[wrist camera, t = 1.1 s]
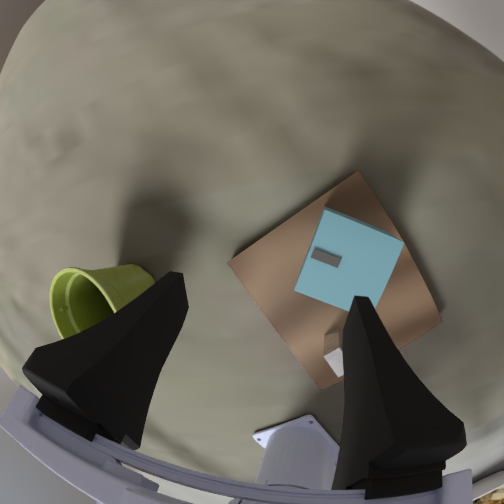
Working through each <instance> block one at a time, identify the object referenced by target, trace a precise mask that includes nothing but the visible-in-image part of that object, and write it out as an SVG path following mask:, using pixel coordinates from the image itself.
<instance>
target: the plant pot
mask: <svg viewBox="0 0 504 504" xmlns="http://www.w3.org/2000/svg"><path fill="white" fill-rule="evenodd" d="M154 283H156V282H155V280H154V279H153V277H152V276H151V275H150V274H149V273H147V272H146V271H144V270H143V269H142V268H141V267H140V266H138V265H134V264H128V265H122V266H116V267H111V268H104V269H98V270H85V269H84V270H83V269H80V268H76V267H69V268H65V269H63V270H61V271H59V272H58V273H57V274H56V276H55V277H54V279H53V281H52V284H51V288H50V308H51V313H52V317H53V320H54V323H55V325H56V327H57V330H58V332H59V334H60V336H61V337H62V339H65V338H68V337H70V336H72V335H75V334H77V333H79V332H81V331H83V330H85V329H87V328H89V327H91V326H93V325H95V324H97V323H99V322H101V321H102V320H104V319H106V318H107V317H109V316H111V315H112V314H114V313H115V312H117V311H118V310H120V309H121V308H122V307H124V306H125V305H127V304H128V303H129V302H131V301H132V300H134V299H135V298H136V297H138V296H139V295H140V294H142V293H143V292H144V291H145V290H147V289H148V288H149V287H151V286H152V285H153V284H154Z"/></svg>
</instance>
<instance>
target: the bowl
mask: <svg viewBox="0 0 504 504" xmlns="http://www.w3.org/2000/svg"><path fill="white" fill-rule="evenodd" d="M472 487H473V504H504V470H503V471H500V472H497V473H495V474H492V475H490V476H488V477H485V478H483V479H481V480H479V481H477V482H475V483H473V484H472Z"/></svg>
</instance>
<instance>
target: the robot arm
mask: <svg viewBox="0 0 504 504" xmlns="http://www.w3.org/2000/svg"><path fill="white" fill-rule="evenodd" d="M188 308H189V305H188V300H187V294H186V289H185V283H184V277H183V273H178V272H172V271H170V272H168V273H167V274H166V275H164V276H163V277H162V278H161V279H159V280H158V281H157V282H156V283H154V284H153V285H152V286H151V287H149V288H148V289H147V290H145V291H144V292H143V293H142V294H140V295H139V296H138V297H136V298H135V299H134V300H132V301H131V302H129V303H128V304H127V305H125V306H124V307H122V308H121V309H120V310H118V311H117V312H115V313H114V314H112V315H111V316H109V317H107V318H106V319H104V320H102V321H101V322H99V323H97V324H95V325H93V326H91V327H89V328H87V329H85V330H83V331H81V332H79V333H77V334H75V335H72V336H70V337H68V338H65V339H62V340H60V341H57V342H54V343H51V344H47V345H44V346H41V347H37V348H35V350H34V351H33V353H32V354H31V356H30V357H29V359H28V360H27V362H26V363H25V364H24V366H23V368H22V370H23V373H24V375H25V376H26V377H27V378H28V380H29V381H30V382H31V383H32V384H33V385H34V386H35V387H36V388H37V389H38V390H39V391H40V392H41V393H42V394H43V395H42V396H41V398H40V399H39V398H38V397H37V396H36V395H34V394H33V393H32V392H30V391H29V390H27V389H26V388H24V387H23V386H21V385H20V386H19V387H18V389H17V391H16V392H15V394H14V396H13V397H12V399H11V401H10V402H9V404H8V406H7V408H6V409H5V411H4V413H3V415H2V417H1V418H0V427H1V428H3V429H4V430H5V431H6V432H7V433H8V434H9V435H10V436H11V437H13V438H14V439H15V440H16V441H17V442H18V443H19V444H20V445H21V446H23V447H24V448H25V449H26V450H27V451H28V452H29V453H31V454H32V455H33V456H34V457H35V458H37V459H38V460H39V461H40V462H41V463H43V464H44V465H45V466H47V467H48V468H49V469H51V470H52V471H53V472H54V473H56V474H57V475H58V476H60V477H61V478H63V479H64V480H66V481H67V482H68V483H70V484H72V485H73V486H74V487H76V488H77V489H79V490H80V491H82V492H84V493H85V494H87V495H88V496H90V497H91V498H93V499H95V500H96V501H97V504H192V503H189V502H185V501H182V500H179V499H176V498H172V497H169V496H166V495H163V494H160V493H158V492H157V491H158V488H159V485H158V484H157V483H155V482H153V481H151V480H149V479H147V478H145V477H144V476H143V475H141V474H139V473H137V472H134V471H132V470H130V469H128V468H126V467H124V466H122V464H121V463H124V464H126V465H128V466H131V467H133V468H136V469H138V470H141V471H143V472H146V473H148V474H151V475H154V476H157V477H159V478H162V479H165V480H168V481H171V482H174V483H177V484H181V485H184V486H187V487H191V488H195V489H198V490H202V491H206V492H210V493H214V494H219V495H223V496H228V497H233V498H235V499H233V500H231V501H230V502H229V503H228V504H473V487H472V470H471V469H467V470H463V471H459V472H455V473H451V474H448V475H445V476H442V470H444V469H445V468H446V462H445V461H446V460H447V459H449V458H451V457H453V456H454V455H456V454H458V453H459V452H460V451H462V450H463V449H464V448H465V447H466V445H467V442H466V434H465V428H464V423H463V422H462V421H461V420H460V419H459V418H457V417H456V416H455V415H454V414H453V413H452V412H450V411H449V410H448V409H447V408H446V407H445V406H444V405H443V404H442V403H441V402H440V401H439V400H438V399H437V398H436V397H435V396H434V395H433V394H432V393H431V392H430V391H429V390H428V389H427V387H426V386H425V385H424V384H423V383H422V382H421V381H420V379H419V378H418V377H417V376H416V374H415V373H414V372H413V370H412V369H411V368H410V366H409V365H408V364H407V362H406V361H405V359H404V358H403V356H402V355H401V353H400V352H399V350H398V349H397V347H396V345H395V344H394V342H393V340H392V339H391V337H390V335H389V333H388V332H387V330H386V328H385V326H384V325H383V323H382V321H381V319H380V317H379V315H378V313H377V312H376V310H375V308H374V306H373V304H372V302H371V300H370V298H369V297H366V296H356V295H354V298H353V301H352V304H351V307H350V310H349V313H348V316H347V319H346V322H345V325H344V328H343V343H342V355H343V371H344V391H345V405H344V417H343V427H342V435H341V442H340V447H339V445H338V444H337V443H336V442H335V441H334V440H333V439H332V438H331V436H330V435H329V434H328V433H327V432H326V431H325V430H324V428H323V427H322V426H321V425H320V424H319V423H318V421H317V420H316V419H315V418H314V417H313V416H312V415H305V416H303V417H300V418H297V419H295V420H292V421H289V422H286V423H284V424H281V425H278V426H275V427H272V428H269V429H266V430H262V431H259V432H256V433H254V434H253V438H254V439H255V440H256V441H257V442H258V443H259V444H260V445H261V446H262V447H263V448H264V449H265V451H264V454H263V457H262V460H261V464H260V467H259V470H258V473H257V476H256V479H255V482H254V483H247V482H242V481H236V480H231V479H226V478H222V477H217V476H213V475H209V474H205V473H201V472H197V471H193V470H190V469H186V468H183V467H179V466H176V465H173V464H170V463H167V462H164V461H161V460H158V459H155V458H152V457H149V456H147V455H144V454H141V453H139V452H136V451H134V450H136V449H138V448H140V445H141V439H142V434H143V430H144V425H145V421H146V417H147V413H148V409H149V405H150V402H151V399H152V395H153V392H154V389H155V386H156V383H157V380H158V377H159V374H160V372H161V370H162V367H163V365H164V363H165V361H166V359H167V357H168V355H169V353H170V351H171V349H172V347H173V345H174V343H175V341H176V339H177V337H178V334H179V332H180V330H181V328H182V326H183V323H184V320H185V317H186V314H187V311H188ZM310 421H312V422H310ZM259 438H260V439H259Z"/></svg>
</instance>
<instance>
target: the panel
mask: <svg viewBox="0 0 504 504" xmlns="http://www.w3.org/2000/svg"><path fill="white" fill-rule="evenodd" d="M324 206H325V207H328V208H330V209H333V210H335V211H338V212H341V213H343V214H346V215H348V216H351V217H353V218H356V219H358V220H360V221H363V222H365V223H368V224H370V225H373V226H375V227H377V228H380V229H382V230H384V231H387V232H389V233H390V234H392V235H393V236H395V237H397V238H398V239H400V240H401V241H403V240H402V238H401V237H400V235H399V233H398V231H397V230H396V228H395V226H394V225H393V223H392V221H391V220H390V218H389V216H388V215H387V213H386V211H385V210H384V208H383V207H382V205H381V203H380V202H379V200H378V199H377V197H376V196H375V194H374V193H373V191H372V190H371V188H370V186H369V185H368V184H367V182H366V181H365V179H364V178H363V176H362V175H361V173H360V172H359V170H358V171H357V172H355V173H354V174H352V175H351V176H350V177H348V178H347V179H345V180H344V181H342V182H341V183H340V184H338V185H337V186H335V187H334V188H332V189H331V190H329V191H328V192H327V193H325V194H324V195H322V196H321V197H319V198H318V199H317V200H315V201H314V202H312V203H311V204H309V205H308V206H307V207H305V208H304V209H302V210H301V211H299V212H298V213H297V214H295V215H294V216H292V217H291V218H289V219H288V220H287V221H285V222H284V223H282V224H281V225H279V226H278V227H277V228H275V229H274V230H272V231H271V232H269V233H268V234H267V235H265V236H264V237H262V238H261V239H260V240H258V241H257V242H255V243H254V244H252V245H251V246H250V247H248V248H247V249H245V250H244V251H243V252H241V253H240V254H238V255H237V256H235V257H234V258H233V259H231V260H230V261H228V262H227V263H228V265H229V266H230V268H231V269H232V270H233V272H234V273H235V275H236V276H237V277H238V279H239V280H240V282H241V283H242V284H243V286H244V287H245V289H246V290H247V291H248V293H249V294H250V295H251V297H252V298H253V300H254V301H255V302H256V304H257V305H258V306H259V308H260V309H261V311H262V312H263V313H264V315H265V316H266V317H267V319H268V320H269V321H270V323H271V324H272V326H273V327H274V328H275V330H276V331H277V332H278V334H279V335H280V336H281V338H282V339H283V340H284V342H285V343H286V344H287V346H288V347H289V348H290V350H291V351H292V352H293V354H294V355H295V356H296V358H297V359H298V360H299V362H300V363H301V364H302V366H303V367H304V368H305V370H306V371H307V372H308V374H309V375H310V376H311V378H312V379H313V380H314V381H315V383H316V384H317V385H318V387H319V388H320V389H321V390H323V389H325V388H327V387H329V386H331V385H334V384H336V383H338V382H340V381H342V380H344V375H342V376H340V377H338V376H337V375H336V373H335V372H334V371H333V369H332V368H331V366H330V365H329V364H328V362H327V361H326V359H325V358H324V357H323V352H324V335H325V334H327V333H329V332H331V331H332V330H334V329H336V328H339V329H340V331H341V332H342V334H343V328H344V325H345V322H346V319H347V316H348V313H349V311H346V310H344V309H341V308H338V307H336V306H333V305H331V304H328V303H325V302H323V301H320V300H317V299H315V298H312V297H310V296H307V295H304V294H302V293H299V292H297V291H294V288H295V285H296V282H297V279H298V275H299V272H300V269H301V267H302V264H303V261H304V259H305V256H306V254H307V251H308V248H309V246H310V243H311V241H312V238H313V235H314V233H315V230H316V227H317V224H318V222H319V219H320V216H321V214H322V211H323V208H324ZM375 310H376V312H377V313H378V315H379V317H380V319H381V321H382V323H383V325H384V326H385V328H386V330H387V332H388V333H389V335H390V337H391V339H392V340H393V342H394V344H395V345H396V347H397V349H398V350H399V349H401V348H402V347H404V346H406V345H407V344H409V343H410V342H412V341H414V340H415V339H417V338H418V337H420V336H421V335H423V334H424V333H426V332H427V331H429V330H430V329H432V328H433V327H435V326H436V325H438V324H439V323H441V322H442V318H441V316H440V314H439V311H438V309H437V307H436V305H435V303H434V300H433V298H432V296H431V294H430V292H429V290H428V288H427V286H426V284H425V282H424V280H423V278H422V276H421V274H420V272H419V270H418V268H417V266H416V264H415V262H414V260H413V258H412V256H411V254H410V253H409V251H408V249H407V247H406V245H405V244H404V245H403V247H402V250H401V252H400V255H399V257H398V259H397V262H396V264H395V267H394V269H393V271H392V273H391V276H390V278H389V280H388V282H387V284H386V287H385V289H384V291H383V293H382V295H381V297H380V299H379V301H378V304H377V306H376V308H375Z"/></svg>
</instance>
